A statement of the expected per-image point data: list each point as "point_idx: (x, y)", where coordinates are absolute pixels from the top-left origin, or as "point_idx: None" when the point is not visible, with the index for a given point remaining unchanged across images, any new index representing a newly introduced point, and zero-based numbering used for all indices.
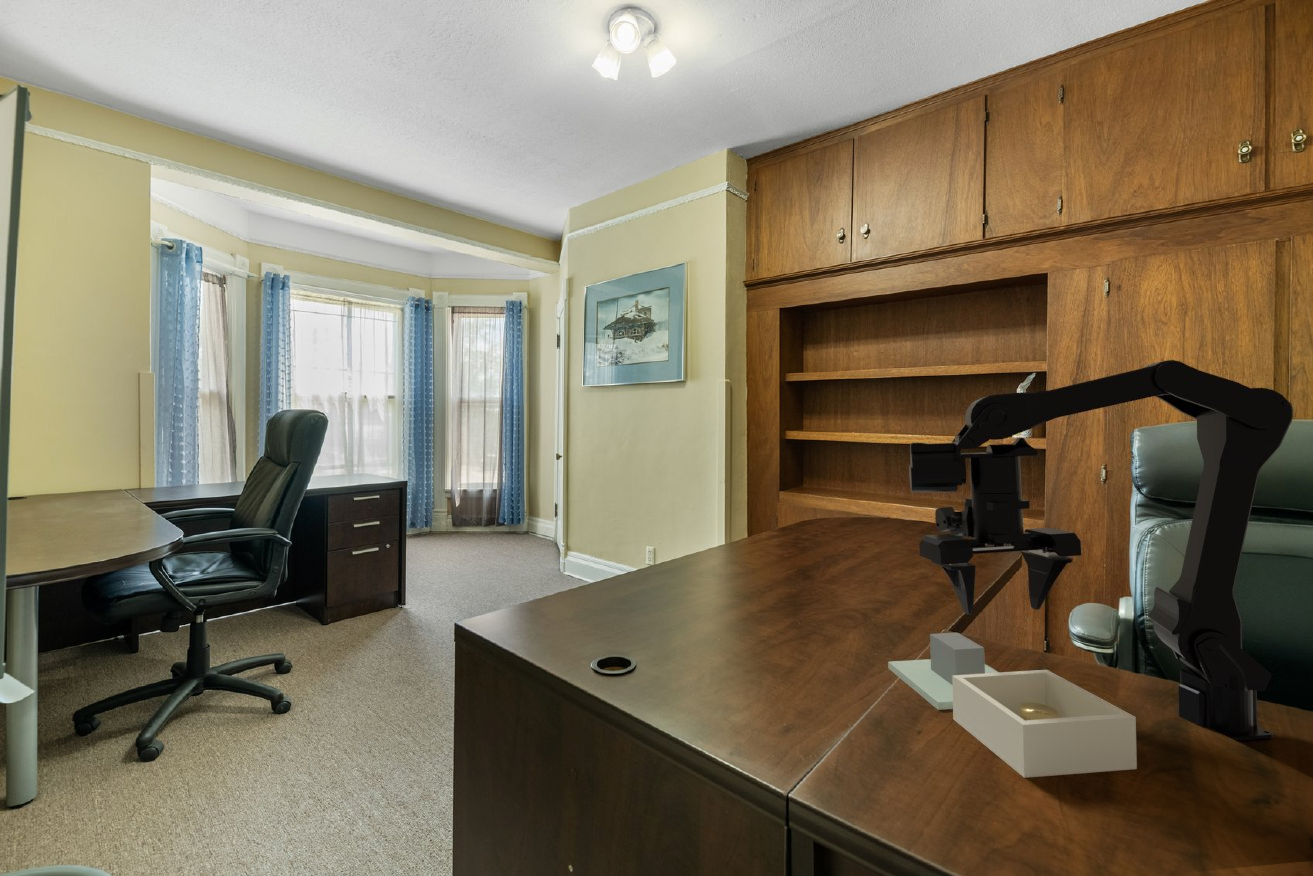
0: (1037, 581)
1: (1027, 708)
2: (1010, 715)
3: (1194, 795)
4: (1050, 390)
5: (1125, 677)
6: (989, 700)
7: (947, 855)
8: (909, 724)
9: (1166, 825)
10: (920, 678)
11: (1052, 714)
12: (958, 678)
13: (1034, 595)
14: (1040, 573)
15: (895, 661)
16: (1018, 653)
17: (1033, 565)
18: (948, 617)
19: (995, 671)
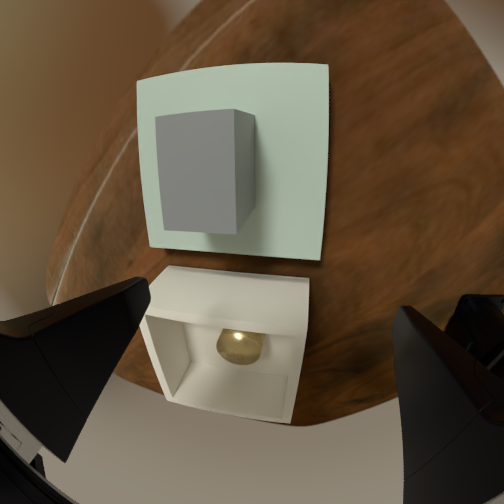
0: (421, 415)
1: (225, 345)
2: (163, 389)
3: (319, 392)
4: None
5: None
6: (154, 366)
7: (120, 374)
8: (124, 245)
9: None
10: (156, 159)
11: (246, 362)
12: None
13: (406, 358)
14: (425, 457)
15: (148, 79)
16: (456, 42)
17: (458, 459)
18: None
19: (323, 147)
